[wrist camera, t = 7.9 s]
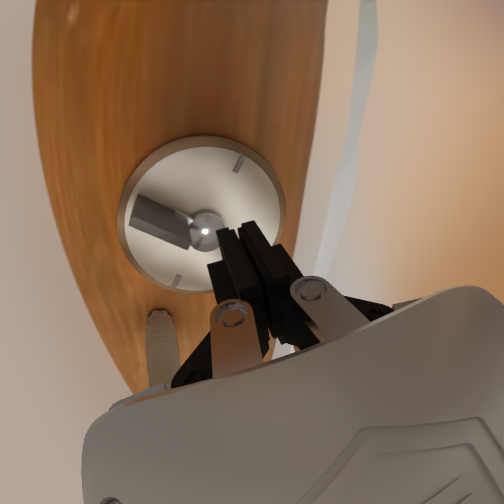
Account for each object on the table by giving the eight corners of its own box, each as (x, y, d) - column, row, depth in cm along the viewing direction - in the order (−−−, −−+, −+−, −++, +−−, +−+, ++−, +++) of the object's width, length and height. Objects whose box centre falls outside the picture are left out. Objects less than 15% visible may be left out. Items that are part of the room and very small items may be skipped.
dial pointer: (273, 241, 30) (293, 269, 26) (254, 267, 31) (270, 298, 27) (145, 178, 23) (140, 199, 19) (128, 213, 24) (121, 241, 20)
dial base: (232, 298, 36) (237, 312, 34) (99, 256, 28) (96, 270, 26) (306, 180, 31) (317, 188, 29) (163, 105, 22) (162, 106, 20)
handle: (142, 334, 35) (149, 436, 23) (139, 297, 32) (141, 409, 20) (178, 334, 37) (195, 434, 25) (178, 297, 34) (197, 406, 22)
